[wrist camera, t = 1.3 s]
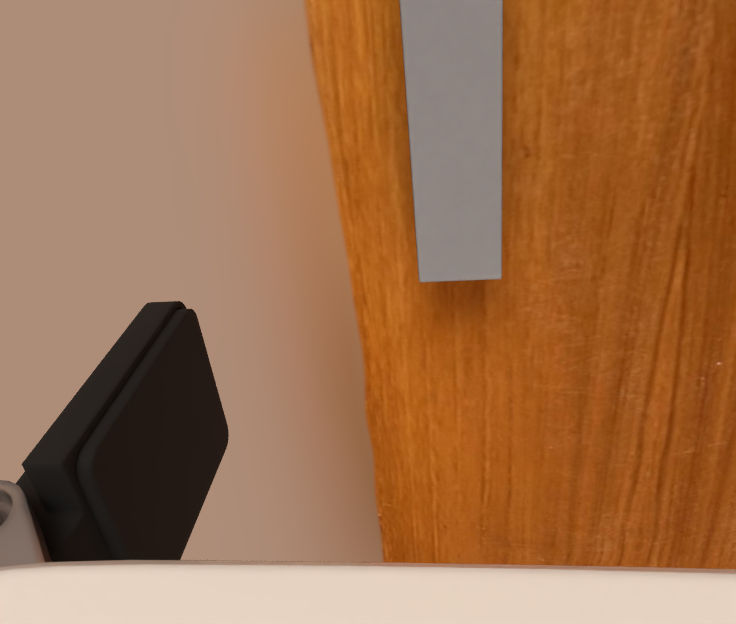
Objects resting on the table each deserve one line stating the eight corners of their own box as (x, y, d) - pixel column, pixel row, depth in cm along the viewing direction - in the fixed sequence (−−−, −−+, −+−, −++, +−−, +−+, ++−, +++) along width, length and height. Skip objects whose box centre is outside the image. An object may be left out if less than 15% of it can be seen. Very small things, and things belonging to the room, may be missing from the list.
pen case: (400, -87, 25) (393, -86, 22) (495, -98, 25) (503, -100, 21) (421, 244, 32) (418, 283, 29) (495, 240, 32) (502, 279, 28)
